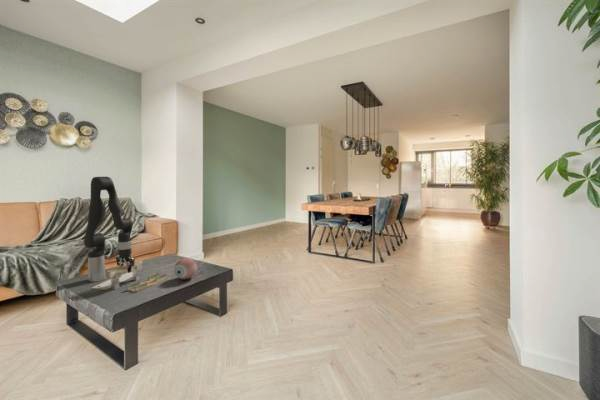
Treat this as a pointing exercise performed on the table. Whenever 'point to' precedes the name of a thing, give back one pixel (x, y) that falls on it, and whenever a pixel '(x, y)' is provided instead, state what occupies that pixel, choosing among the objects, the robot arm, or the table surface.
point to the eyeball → (185, 268)
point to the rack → (146, 283)
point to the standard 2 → (136, 273)
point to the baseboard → (107, 283)
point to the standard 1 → (115, 281)
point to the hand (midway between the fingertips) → (125, 271)
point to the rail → (122, 270)
